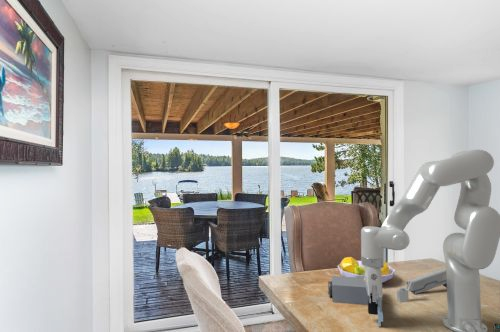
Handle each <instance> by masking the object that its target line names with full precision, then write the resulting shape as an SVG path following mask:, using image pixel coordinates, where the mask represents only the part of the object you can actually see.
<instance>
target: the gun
mask: <svg viewBox="0 0 500 332" xmlns="http://www.w3.org/2000/svg"><path fill="white" fill-rule="evenodd" d="M409 280H410V281H412V282H414V285H413V288H412V291H411V292H410V293H411V294H413V295H418V294H420V293H423V292H426V291H428V290H429V291H430V290H431V289H435V288H438V287H441V286H442V287H445V288H446V289H447V276H446V267H444V268H441V269H437V270H435V271H432V272H429V273H426V274H423V275H420V276H417V277H414V278H411V279H408V280H407V281H406V285H407V284H408V282H409Z"/></svg>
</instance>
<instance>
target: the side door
mask: <svg viewBox="0 0 500 332" xmlns="http://www.w3.org/2000/svg"><path fill="white" fill-rule="evenodd" d="M382 322H384V311H383V297H382V298H381V297H378V315H377V327H381V325H382Z"/></svg>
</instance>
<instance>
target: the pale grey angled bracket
mask: <svg viewBox="0 0 500 332" xmlns="http://www.w3.org/2000/svg"><path fill="white" fill-rule="evenodd" d="M408 280H409V282H408V284H407V283H406V287H399V289H397V290H396V297H397V298H396V299H397V302H399V303H405V302H409V292H410V293H412V292H411V291H412V288H413V285H414V282H412V281H410V280H411V279H408Z"/></svg>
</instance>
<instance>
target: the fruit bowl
mask: <svg viewBox="0 0 500 332" xmlns="http://www.w3.org/2000/svg"><path fill="white" fill-rule="evenodd" d="M337 269H338V270H339V272H340V274H341V275H340V276H343V277H359V278H365V267H363V266H362V265H361V260H356V259H355V258H354V257H352V256H347V257H344V258H342V260H341V261H340V263H339V264H338V265H337ZM395 272H396V269H395V268H393V267H392V266H390V265H388V263H387V262H386V260H384V267H383V268H381V273H382V284H383V283H385V282H387V281H389V280H391V279H393V276H394V274H395Z"/></svg>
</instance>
